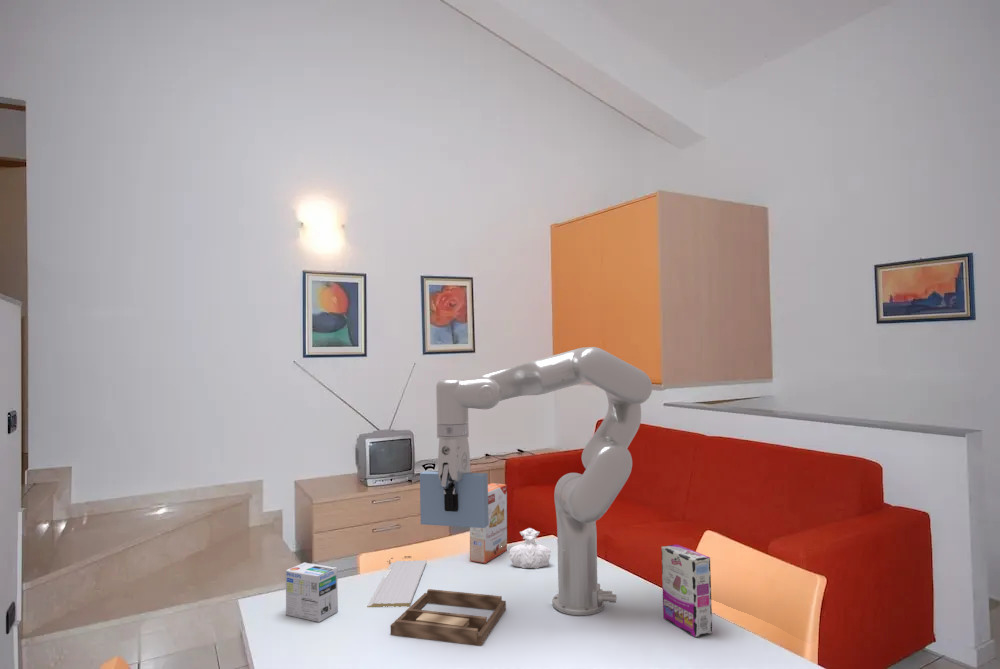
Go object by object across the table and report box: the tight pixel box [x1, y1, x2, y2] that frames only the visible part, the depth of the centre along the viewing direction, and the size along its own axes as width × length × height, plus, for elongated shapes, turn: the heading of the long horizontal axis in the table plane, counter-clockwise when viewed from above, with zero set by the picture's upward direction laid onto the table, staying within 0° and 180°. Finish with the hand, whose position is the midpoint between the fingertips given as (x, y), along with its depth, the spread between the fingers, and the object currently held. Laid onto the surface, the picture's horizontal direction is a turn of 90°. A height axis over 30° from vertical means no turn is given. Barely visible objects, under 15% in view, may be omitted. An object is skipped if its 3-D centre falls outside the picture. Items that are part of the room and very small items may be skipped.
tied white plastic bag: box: [508, 527, 551, 570], centre depth 176 cm, size 12×8×11 cm
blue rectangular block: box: [419, 470, 489, 528], centre depth 142 cm, size 16×3×12 cm, turn 74°
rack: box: [389, 588, 507, 646], centre depth 138 cm, size 21×19×3 cm
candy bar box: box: [660, 544, 713, 638], centre depth 134 cm, size 11×5×16 cm, turn 23°
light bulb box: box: [285, 562, 339, 623], centre depth 144 cm, size 11×7×11 cm, turn 65°
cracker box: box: [469, 482, 508, 564], centre depth 184 cm, size 14×6×21 cm, turn 152°
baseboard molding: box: [366, 555, 428, 608], centre depth 163 cm, size 31×3×12 cm
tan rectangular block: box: [416, 613, 469, 627], centre depth 133 cm, size 12×4×3 cm, turn 71°
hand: (454, 508), depth 142 cm, fingers closed on blue rectangular block, 3 cm apart
